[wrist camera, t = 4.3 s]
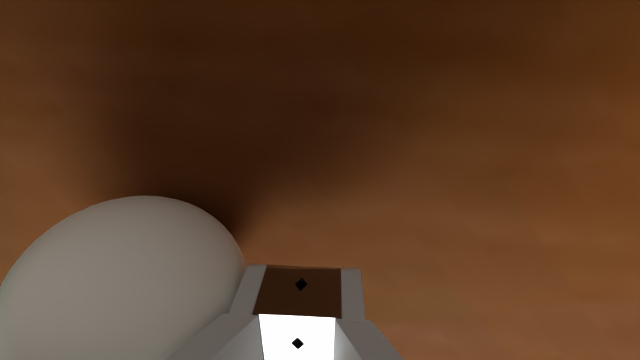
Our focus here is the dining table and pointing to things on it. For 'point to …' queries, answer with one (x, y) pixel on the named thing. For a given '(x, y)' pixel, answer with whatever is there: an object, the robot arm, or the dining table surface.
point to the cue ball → (119, 283)
